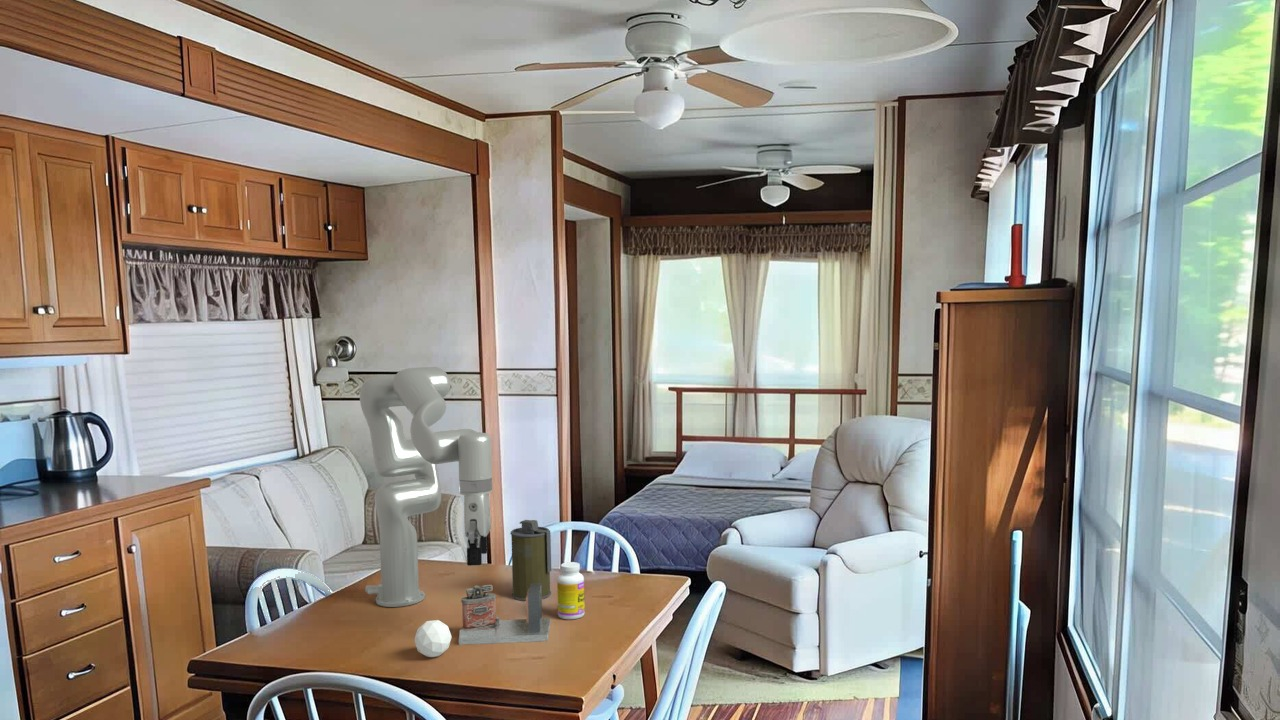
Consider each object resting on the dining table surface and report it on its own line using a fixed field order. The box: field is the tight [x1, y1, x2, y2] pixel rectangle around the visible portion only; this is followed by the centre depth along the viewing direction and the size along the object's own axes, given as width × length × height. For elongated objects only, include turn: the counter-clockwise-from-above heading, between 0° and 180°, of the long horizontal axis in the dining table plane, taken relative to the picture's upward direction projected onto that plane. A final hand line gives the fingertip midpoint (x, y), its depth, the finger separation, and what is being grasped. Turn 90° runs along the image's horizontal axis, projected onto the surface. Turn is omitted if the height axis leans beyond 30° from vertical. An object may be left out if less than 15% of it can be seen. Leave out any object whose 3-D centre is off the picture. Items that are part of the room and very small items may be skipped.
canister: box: [509, 519, 552, 602], centre depth 223 cm, size 11×10×20 cm
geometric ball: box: [414, 619, 453, 658], centre depth 182 cm, size 8×8×8 cm
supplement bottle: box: [556, 561, 586, 621], centre depth 206 cm, size 7×7×13 cm
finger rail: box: [458, 583, 551, 646], centre depth 194 cm, size 20×11×10 cm, turn 93°
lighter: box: [460, 584, 497, 629], centre depth 194 cm, size 8×3×10 cm, turn 115°
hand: (477, 559), depth 193 cm, fingers open, 9 cm apart
